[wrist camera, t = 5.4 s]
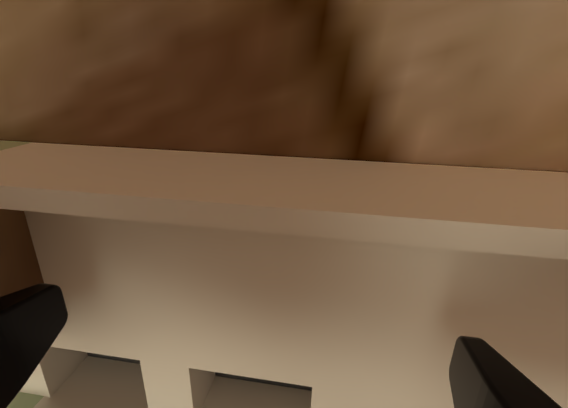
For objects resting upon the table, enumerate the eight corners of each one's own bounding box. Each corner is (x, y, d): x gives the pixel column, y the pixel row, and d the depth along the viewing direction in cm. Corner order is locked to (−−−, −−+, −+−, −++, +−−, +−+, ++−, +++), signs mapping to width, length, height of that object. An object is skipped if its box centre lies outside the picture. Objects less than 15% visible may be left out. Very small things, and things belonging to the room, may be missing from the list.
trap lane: (541, 433, 11) (620, 583, 8) (-44, 340, 15) (-156, 419, 11) (649, 176, 8) (849, 251, 5) (-131, 133, 11) (-321, 160, 8)
